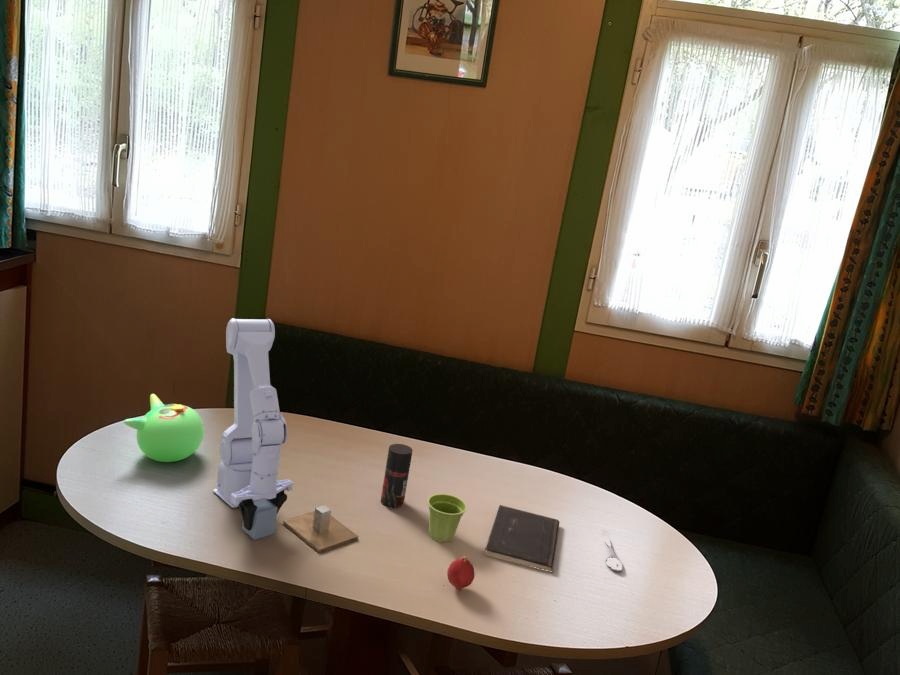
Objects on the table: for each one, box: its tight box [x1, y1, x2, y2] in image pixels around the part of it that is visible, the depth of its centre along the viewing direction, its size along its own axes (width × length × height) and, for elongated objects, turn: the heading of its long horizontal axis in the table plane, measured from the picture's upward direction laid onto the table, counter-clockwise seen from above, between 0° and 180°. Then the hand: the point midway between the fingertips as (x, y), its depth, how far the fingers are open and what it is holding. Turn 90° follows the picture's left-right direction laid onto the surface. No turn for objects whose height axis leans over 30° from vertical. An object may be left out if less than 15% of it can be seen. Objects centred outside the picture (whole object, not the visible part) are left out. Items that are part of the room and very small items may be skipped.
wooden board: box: [282, 504, 359, 554], centre depth 171 cm, size 14×11×6 cm
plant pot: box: [427, 493, 468, 543], centre depth 178 cm, size 9×9×9 cm
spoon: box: [607, 546, 623, 572], centre depth 186 cm, size 4×21×2 cm, turn 177°
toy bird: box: [123, 393, 205, 463], centre depth 192 cm, size 18×17×15 cm
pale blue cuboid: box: [241, 498, 278, 541], centre depth 167 cm, size 5×5×7 cm
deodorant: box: [380, 443, 414, 509], centre depth 189 cm, size 6×6×15 cm
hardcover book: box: [485, 504, 560, 572], centre depth 184 cm, size 16×23×2 cm
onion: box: [446, 556, 476, 591], centre depth 159 cm, size 6×6×8 cm
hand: (258, 524), depth 168 cm, fingers closed on pale blue cuboid, 5 cm apart
